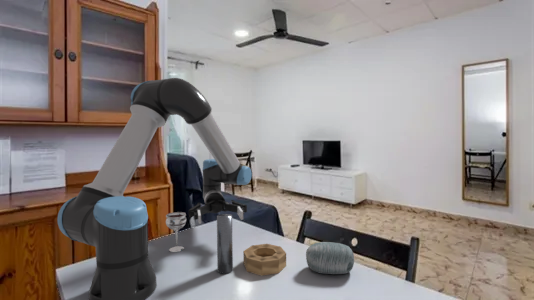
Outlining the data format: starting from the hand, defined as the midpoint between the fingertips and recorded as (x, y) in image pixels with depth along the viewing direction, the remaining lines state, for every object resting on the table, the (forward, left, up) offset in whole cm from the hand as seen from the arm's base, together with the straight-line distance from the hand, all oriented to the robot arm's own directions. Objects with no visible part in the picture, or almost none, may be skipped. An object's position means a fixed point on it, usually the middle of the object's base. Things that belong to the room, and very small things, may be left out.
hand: (221, 217), depth 92 cm
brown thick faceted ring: (+12, -10, -13) cm, 20 cm away
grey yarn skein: (+29, -19, -13) cm, 37 cm away
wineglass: (-14, +10, -13) cm, 22 cm away
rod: (0, -10, -13) cm, 16 cm away
